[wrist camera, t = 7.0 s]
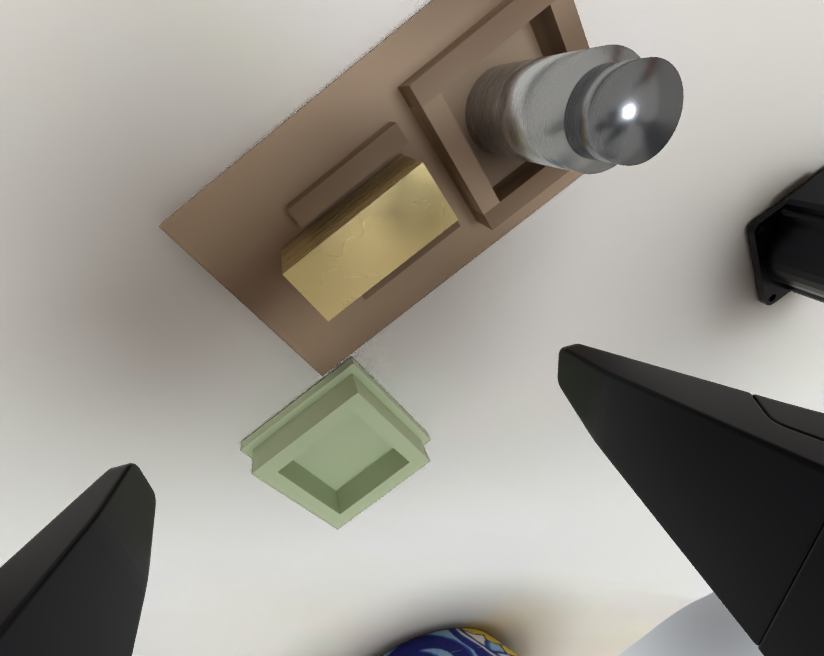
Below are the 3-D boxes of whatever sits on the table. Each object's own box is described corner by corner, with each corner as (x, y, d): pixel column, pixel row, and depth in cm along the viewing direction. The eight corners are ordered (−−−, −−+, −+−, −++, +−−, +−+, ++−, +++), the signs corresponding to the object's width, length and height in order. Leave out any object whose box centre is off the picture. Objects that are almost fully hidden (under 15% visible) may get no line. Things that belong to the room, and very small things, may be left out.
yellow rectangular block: (433, 204, 18) (458, 219, 15) (320, 292, 18) (328, 321, 16) (401, 153, 16) (422, 162, 14) (281, 250, 17) (282, 274, 14)
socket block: (609, 145, 20) (645, 149, 18) (320, 369, 21) (325, 395, 19) (531, -82, 15) (568, -108, 13) (162, 222, 16) (147, 238, 14)
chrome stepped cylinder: (551, 121, 18) (707, 130, 11) (489, 170, 18) (609, 206, 12) (518, 44, 16) (680, 4, 10) (450, 99, 16) (566, 95, 10)
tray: (427, 433, 24) (440, 460, 23) (331, 504, 25) (336, 537, 23) (351, 356, 21) (359, 381, 19) (240, 442, 21) (238, 474, 19)
